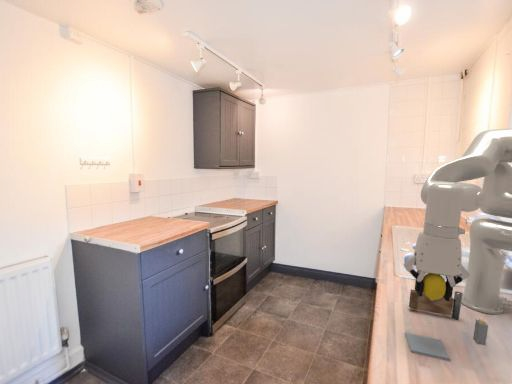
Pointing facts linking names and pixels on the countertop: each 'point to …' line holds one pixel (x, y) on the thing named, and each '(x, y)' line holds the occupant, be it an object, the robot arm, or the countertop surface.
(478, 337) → the post
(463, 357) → the countertop surface
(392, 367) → the countertop surface
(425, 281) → the lemon
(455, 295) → the gatepost
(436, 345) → the mat
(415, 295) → the brown wooden block
